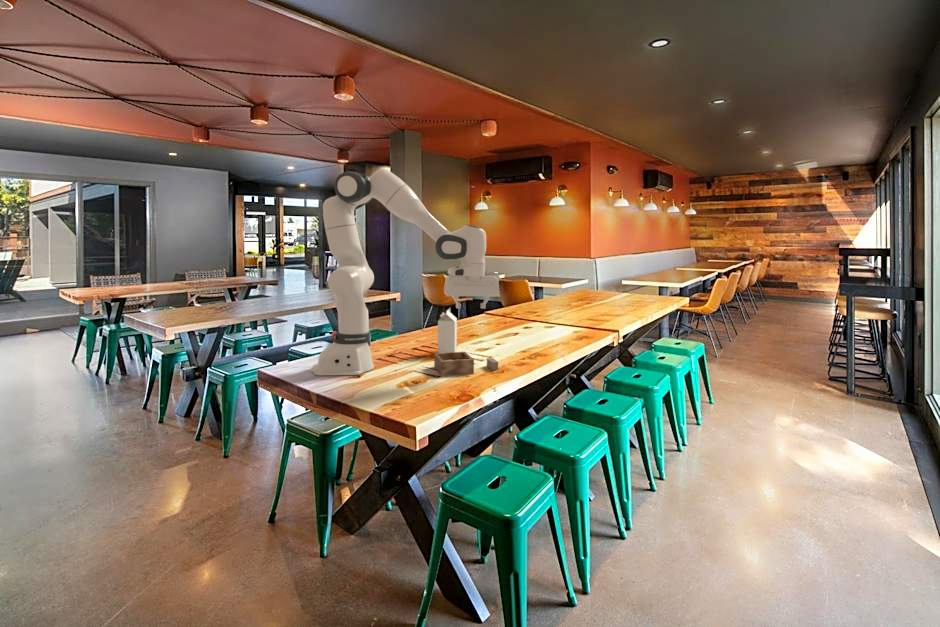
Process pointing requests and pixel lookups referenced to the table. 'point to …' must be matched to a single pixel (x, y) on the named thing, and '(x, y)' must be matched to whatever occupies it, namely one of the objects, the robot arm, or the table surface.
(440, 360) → the walnut box
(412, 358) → the table surface
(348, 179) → the robot arm
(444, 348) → the milk carton
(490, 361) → the lid
